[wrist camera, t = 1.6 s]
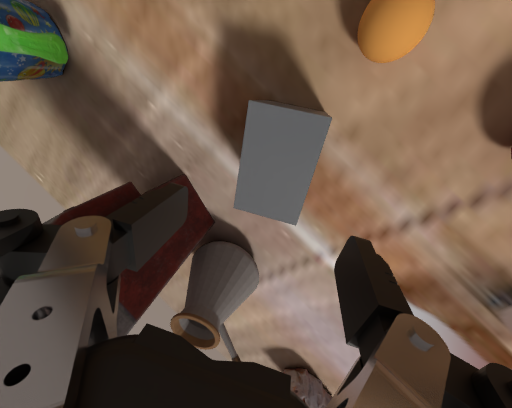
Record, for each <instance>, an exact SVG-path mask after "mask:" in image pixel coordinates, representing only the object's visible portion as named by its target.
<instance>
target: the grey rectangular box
mask: <svg viewBox="0 0 512 408" xmlns="http://www.w3.org/2000/svg"><path fill="white" fill-rule="evenodd" d="M331 120H332V117H331V116H329V115H328V114H327V113H326V112H323V111H318V110H313V109H309V108H304V107H299V106H294V105H289V104H285V103H280V102H275V101H270V100H249V103H248V110H247V117H246V124H245V131H244V138H243V145H242V152H241V159H240V166H239V173H238V180H237V187H236V194H235V201H234V208H236V209H239V210H243V211H246V212H250V213H253V214H257V215H260V216H264V217H267V218H271V219H275V220H278V221H282V222H285V223H289V224H292V225H296V224H297V221H298V218H299V215H300V212H301V209H302V206H303V203H304V200H305V197H306V195H307V192H308V189H309V186H310V183H311V180H312V177H313V174H314V171H315V168H316V165H317V162H318V159H319V156H320V153H321V150H322V147H323V144H324V141H325V138H326V135H327V132H328V129H329V126H330V123H331Z"/></svg>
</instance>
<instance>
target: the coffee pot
mask: <svg viewBox="0 0 512 408" xmlns="http://www.w3.org/2000/svg"><path fill="white" fill-rule="evenodd" d="M258 283H259V272H258V269H257V265H256V263H255V261H254V260H253V258H252V257H251V256H250V255H249V254H248V253H247V252H246V251H245V250H244V249H243V248H241V247H239V246H238V245H235V244H233V243H229V242H223V241H217V242H211V243H208V244H206V245H203V246H202V247H200V248H199V249H198V250H197V251H196V252H195V254H194V256H193V258H192V264H191V271H190V277H189V284H188V290H187V296H186V303H185V308H184V309H183V311H182V312H181V313H178V314H176V315H175V316H173V318H172V319H171V324H170V325H171V329H172V330H173V333H175V334H177V335H180V336H182V337H183V338H184V339H185V340H187V341H188V342H189V343H191V344H192V345H193V346H194V347H196V348H200V349H213V348H215V347H216V346H217V345H218V344H219V342H220V335H221V337H222V339H223V341H224V343H225V345H226V347H227V349H228V351H229V353H230V355H231V357H232V361H237V362H241V360H240V358H239V356H238V355H237V354H236V351H235V349H234V347H233V344H232V342H231V340H230V337H229V335H228V333H227V330H226V328H225V326H224V323H223V322H224V321H225V320H226V319H227V318H228V317H229V316H230V315H231V314H232V313H233V312H234V311H235V310H236V309H237V308H238V307H239V306H240V305H241V304H242V303H243V302H244V301H245V300H246V299H247V298H248V297H249V296H250V295H251V294H252V293H253V291H254V290H255V289H256V288H257V285H258ZM219 333H220V334H219Z"/></svg>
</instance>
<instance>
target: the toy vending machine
mask: <svg viewBox="0 0 512 408" xmlns="http://www.w3.org/2000/svg"><path fill="white" fill-rule="evenodd" d="M169 183H176V184H179V185H182V186H186V187H187V188H188V211H187V218H186V220H185V222H184V224H183V225H182V226H181V227H180V228H179V229H178V230H177V231H176V232H175V233H174V234H173V236H172V237H171V238H170V239H169V240H168V241H167V242H166V243H165V244H164V245H163V246H162V247H161V248H160V249H159V250H158V251H157V252H156V253H155V254H154V255H153V256H152V257H151V258H150V259H149V260H148V261H147V262H146V263H145V264H144V265H143V266H142V267H141V268H140V269H139V270H138V271H137V272H136V271H133V270H130V269H127V268H126V269H125V270H124V271H122V272H121V273H120V274H121V283H120V292H119V302H118V311H117V337H119V336H125V335H127V334H128V333H129V331H130V330H131V329H132V328H133V326H134V325H135V324H136V322H137V321H138V320H139V319H140V317H141V316H142V315H143V313H144V312H145V311H146V310H147V308H148V307H149V306H150V305H151V303H152V302H153V301H154V299H155V298H156V297H157V296H158V294H159V293H160V292H161V290H162V289H163V288H164V287H165V285H166V284H167V283H168V282H169V280H170V279H171V278H172V276H173V275H174V274H175V273H176V271H177V270H178V269H179V267H180V266H181V265H182V264H183V262H184V261H185V260H186V258H187V257H188V256H189V255H190V253H191V252H192V251H193V250H194V248H195V247H196V246H197V244H198V243H199V242H200V241H201V239H202V238H203V237H204V235H205V234H206V233H207V232H208V230H209V229H210V228H211V226H212V225H213V224H214V220H213V219H212V217H211V215H210V214H209V212H208V211H207V209H206V207H205V206H204V204H203V202H202V201H201V199H200V197H199V196H198V194H197V193H196V191H195V189H194V188H193V186H192V184H191V183H190V181H189V179H188V178H187V176H186V175H185V174H183V175H181V176H179V177H177V178H174V179H172V180H170V181H168V182H166V183H164V184H162V185H160V186H158V187H156V188H154V189H152V190H150V191H153V190H156V189H161V188H163V187H164V186H166V185H168V184H169ZM148 192H149V191H148ZM146 193H147V192H146ZM144 194H145V193H144ZM142 195H143V194H142ZM140 196H141V195H140V193H139V192H138V190H137V189H136V188H135V186H134V185H133V183H132V182H128V183H126V184H124V185H122V186H120V187H117V188H115V189H113V190H111V191H109V192H106V193H104V194H102V195H100V196H97V197H95V198H93V199H91V200H89V201H86V202H84V203H82V204H80V205H78V206H75V207H71V208H69V209H67V210H65V211H63V212H62V213H61V214H59V215H57V216H55V217H54V218H52V219H50V220H48V221H47V222H45V223H43V224H52V225H64V224H65V223H67V222H68V221H71V220H73V219H76V218H79V217H84V216H102V217H106V216H107V215H109V214H111V213H112V212H114V211H116V210H118V209H119V208H121V207H123V206H124V205H126V204H128V203H130V202H132V201H133V200H135V199H136V198H139V197H140Z"/></svg>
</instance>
